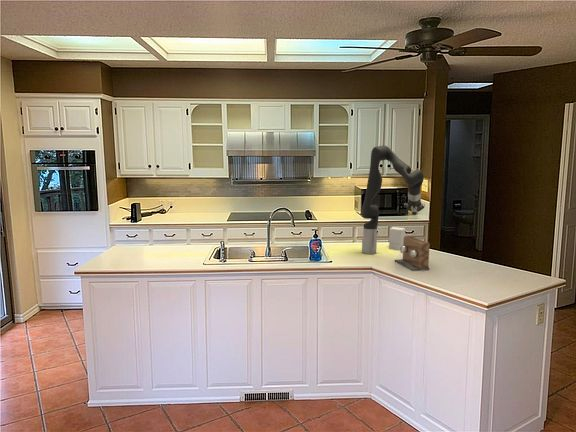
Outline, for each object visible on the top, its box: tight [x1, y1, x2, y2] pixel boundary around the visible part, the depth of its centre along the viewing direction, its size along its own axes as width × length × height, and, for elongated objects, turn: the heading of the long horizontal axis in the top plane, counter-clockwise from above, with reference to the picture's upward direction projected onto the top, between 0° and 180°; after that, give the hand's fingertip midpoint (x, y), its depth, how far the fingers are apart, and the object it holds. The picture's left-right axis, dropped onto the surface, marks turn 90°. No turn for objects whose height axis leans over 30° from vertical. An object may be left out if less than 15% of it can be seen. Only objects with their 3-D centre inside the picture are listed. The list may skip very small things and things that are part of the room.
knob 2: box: [410, 250, 418, 258], centre depth 261 cm, size 8×4×4 cm, turn 104°
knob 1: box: [399, 246, 408, 254], centre depth 272 cm, size 8×4×4 cm, turn 104°
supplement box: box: [388, 226, 406, 251], centre depth 312 cm, size 9×9×15 cm
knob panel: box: [394, 236, 431, 272], centre depth 266 cm, size 11×22×16 cm, turn 14°
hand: (414, 214), depth 279 cm, fingers closed
